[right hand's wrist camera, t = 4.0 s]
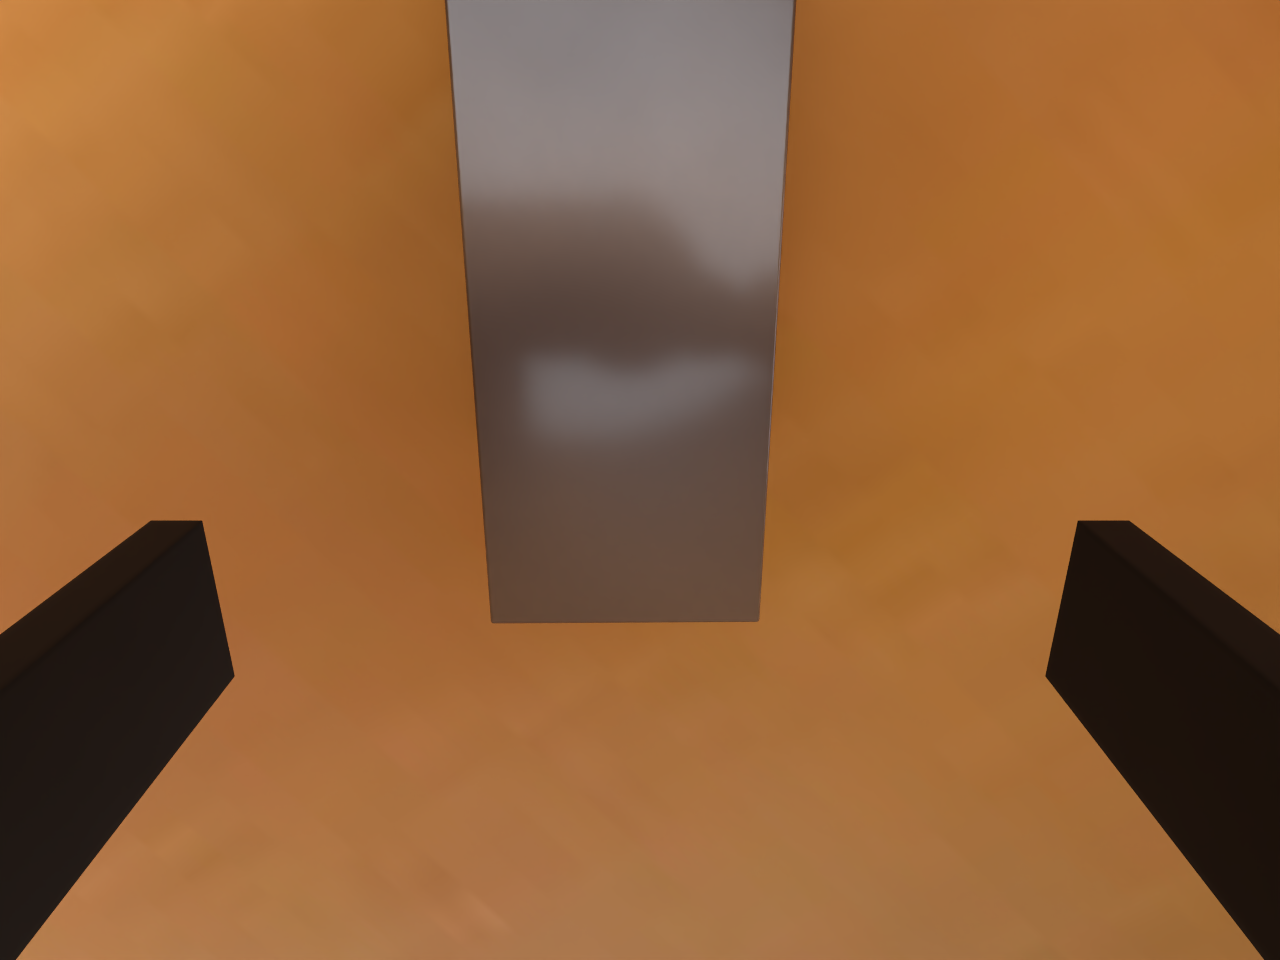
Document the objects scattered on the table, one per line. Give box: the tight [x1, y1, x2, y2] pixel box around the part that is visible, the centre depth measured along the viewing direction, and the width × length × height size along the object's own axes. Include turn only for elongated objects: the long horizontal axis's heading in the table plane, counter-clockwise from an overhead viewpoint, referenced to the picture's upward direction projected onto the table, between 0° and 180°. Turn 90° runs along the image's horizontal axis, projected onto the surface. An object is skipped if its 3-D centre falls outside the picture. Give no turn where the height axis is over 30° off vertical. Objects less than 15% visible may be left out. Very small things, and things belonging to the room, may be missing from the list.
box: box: [445, 0, 796, 623], centre depth 21 cm, size 24×6×12 cm, turn 0°
